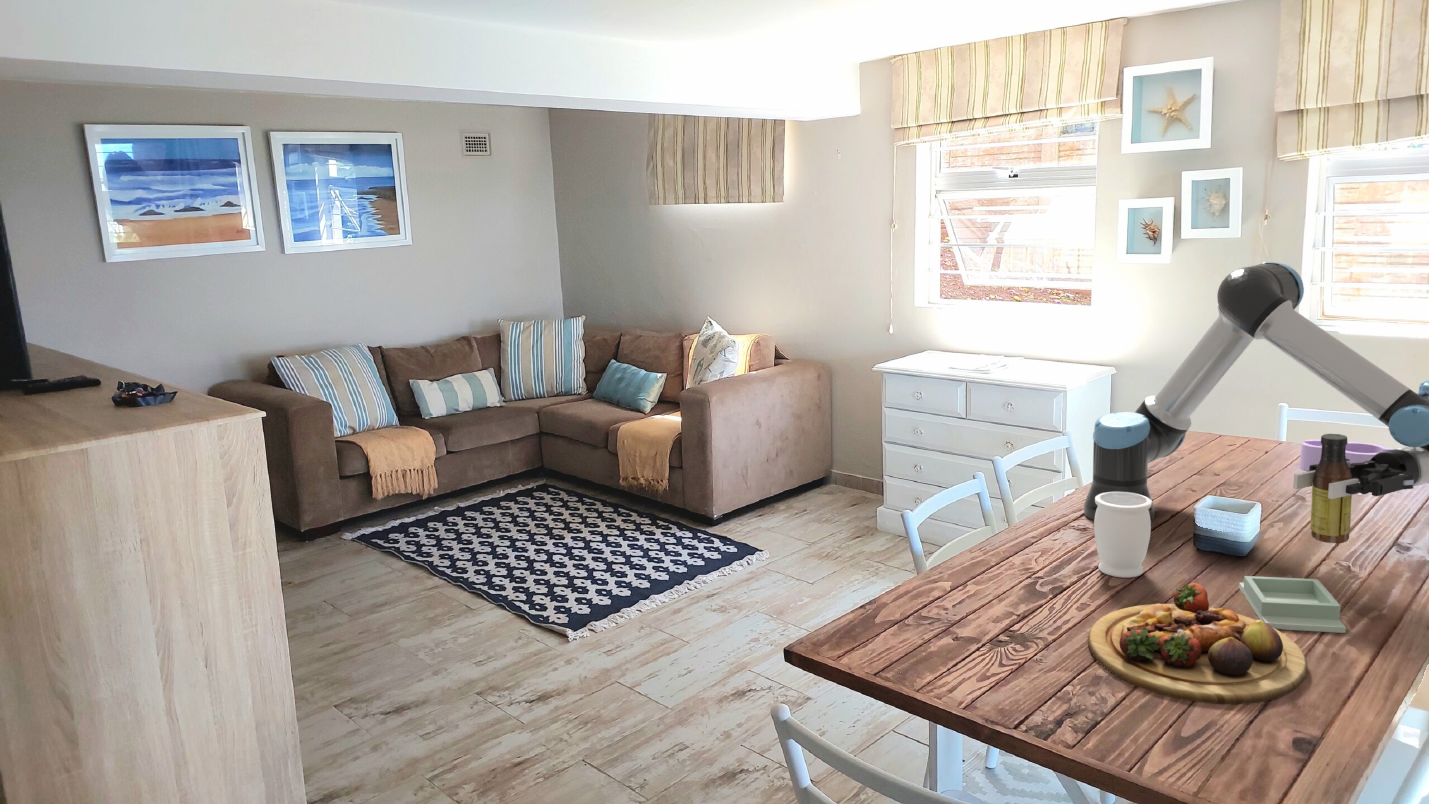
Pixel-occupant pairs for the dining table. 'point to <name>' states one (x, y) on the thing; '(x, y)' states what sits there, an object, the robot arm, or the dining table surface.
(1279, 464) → the dining table surface
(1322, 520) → the sauce bottle
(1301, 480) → the robot arm
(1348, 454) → the purple holder
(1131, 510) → the jar
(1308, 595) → the stand
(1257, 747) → the dining table surface
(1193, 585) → the wooden plate with food
